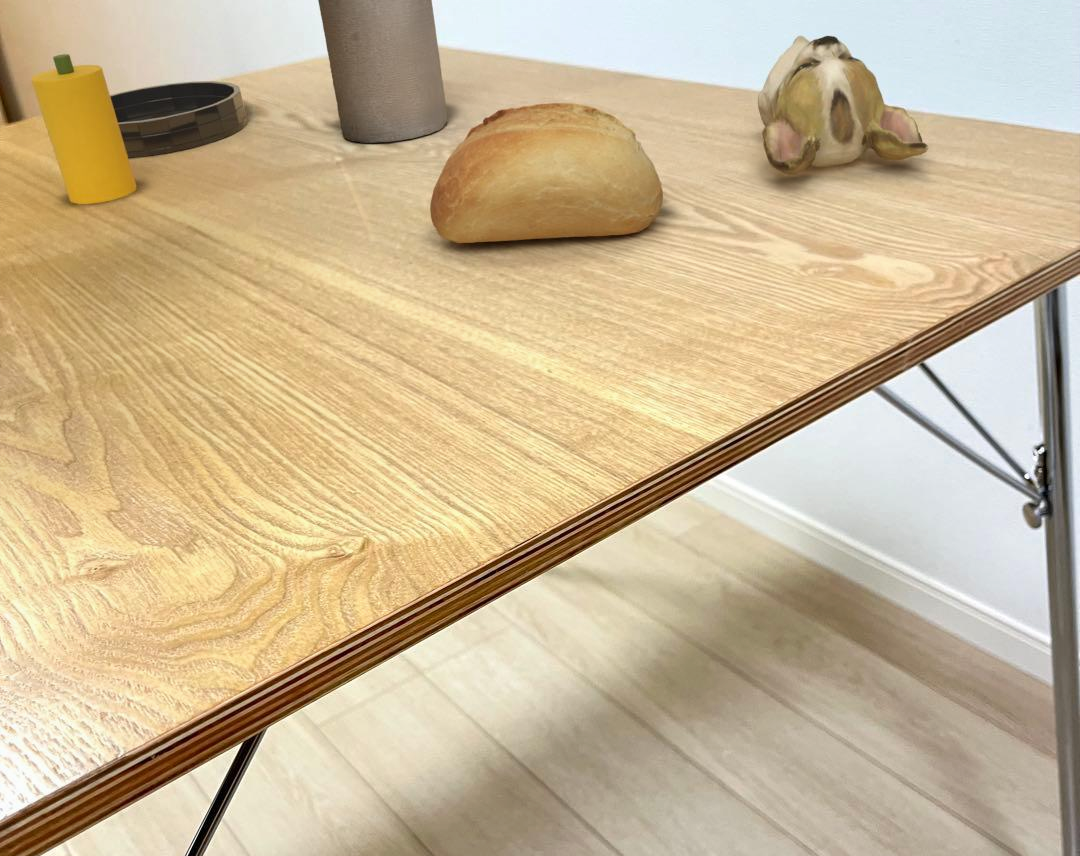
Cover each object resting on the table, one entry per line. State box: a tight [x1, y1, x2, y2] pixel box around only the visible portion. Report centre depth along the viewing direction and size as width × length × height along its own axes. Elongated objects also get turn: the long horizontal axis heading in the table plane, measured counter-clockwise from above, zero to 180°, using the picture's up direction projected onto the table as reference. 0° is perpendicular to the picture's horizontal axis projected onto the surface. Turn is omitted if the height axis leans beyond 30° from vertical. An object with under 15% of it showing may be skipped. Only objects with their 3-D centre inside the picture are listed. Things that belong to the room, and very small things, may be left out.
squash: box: [30, 53, 137, 205], centre depth 89 cm, size 5×5×11 cm
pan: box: [110, 80, 248, 159], centre depth 109 cm, size 16×16×3 cm
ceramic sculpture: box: [757, 35, 929, 175], centre depth 80 cm, size 11×9×15 cm
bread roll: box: [429, 102, 664, 244], centre depth 73 cm, size 10×15×8 cm, turn 93°
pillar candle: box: [317, 0, 448, 144], centre depth 99 cm, size 10×10×15 cm
